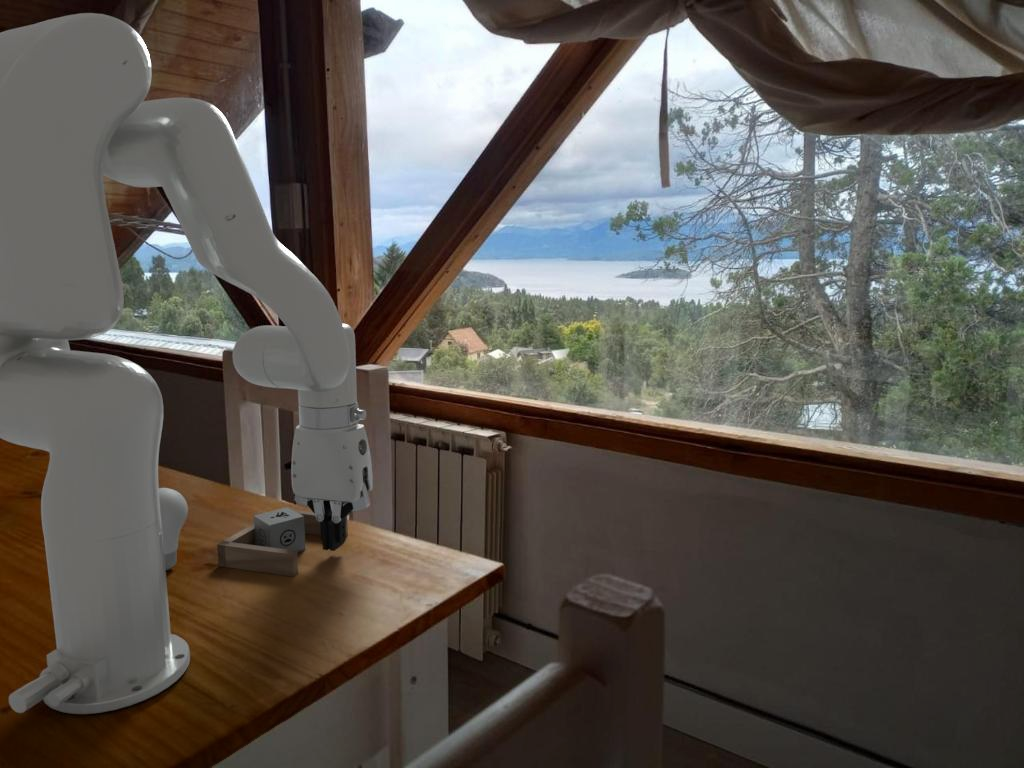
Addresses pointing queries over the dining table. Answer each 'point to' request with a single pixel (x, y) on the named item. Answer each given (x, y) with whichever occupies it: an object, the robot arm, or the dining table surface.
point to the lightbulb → (171, 522)
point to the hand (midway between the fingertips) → (333, 546)
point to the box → (263, 550)
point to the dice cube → (280, 529)
